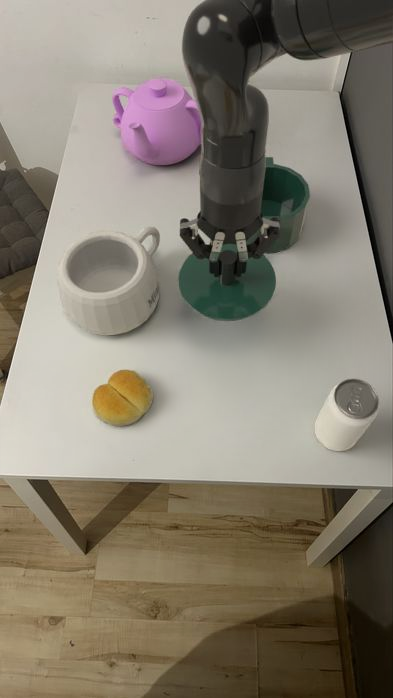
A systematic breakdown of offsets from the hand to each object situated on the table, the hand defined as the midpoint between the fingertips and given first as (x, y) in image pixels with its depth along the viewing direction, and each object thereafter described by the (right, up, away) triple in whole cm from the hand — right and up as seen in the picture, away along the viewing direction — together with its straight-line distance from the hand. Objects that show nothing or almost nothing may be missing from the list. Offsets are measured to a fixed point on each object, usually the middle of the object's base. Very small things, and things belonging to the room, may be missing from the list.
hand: (227, 272), depth 73 cm
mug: (-18, -1, +15) cm, 23 cm away
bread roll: (-16, -19, +4) cm, 25 cm away
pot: (+9, +12, +21) cm, 26 cm away
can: (+16, -24, +1) cm, 29 cm away
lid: (0, -1, +2) cm, 2 cm away
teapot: (-12, +30, +32) cm, 46 cm away
